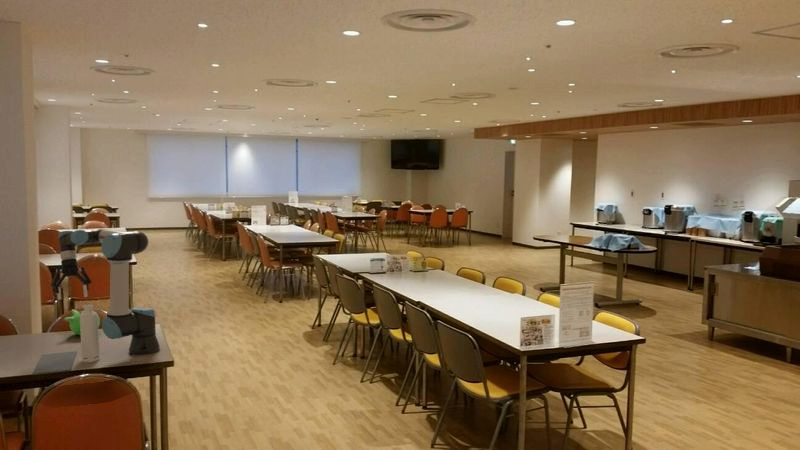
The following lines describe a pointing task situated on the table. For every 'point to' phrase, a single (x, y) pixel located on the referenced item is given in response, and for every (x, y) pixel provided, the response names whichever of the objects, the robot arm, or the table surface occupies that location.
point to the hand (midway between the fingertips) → (73, 298)
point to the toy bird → (76, 321)
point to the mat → (55, 363)
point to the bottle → (89, 334)
